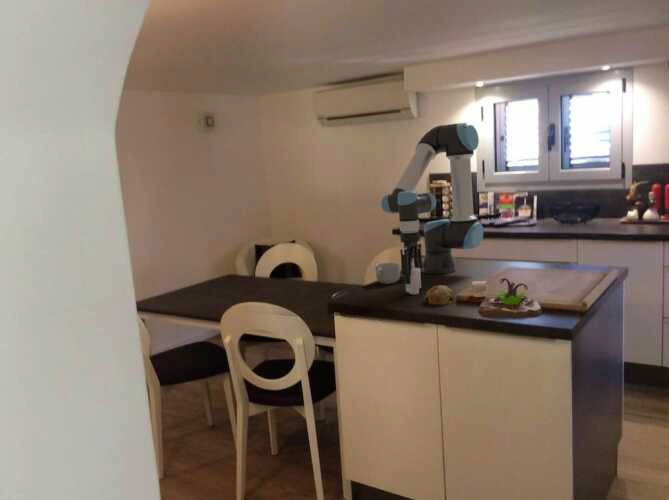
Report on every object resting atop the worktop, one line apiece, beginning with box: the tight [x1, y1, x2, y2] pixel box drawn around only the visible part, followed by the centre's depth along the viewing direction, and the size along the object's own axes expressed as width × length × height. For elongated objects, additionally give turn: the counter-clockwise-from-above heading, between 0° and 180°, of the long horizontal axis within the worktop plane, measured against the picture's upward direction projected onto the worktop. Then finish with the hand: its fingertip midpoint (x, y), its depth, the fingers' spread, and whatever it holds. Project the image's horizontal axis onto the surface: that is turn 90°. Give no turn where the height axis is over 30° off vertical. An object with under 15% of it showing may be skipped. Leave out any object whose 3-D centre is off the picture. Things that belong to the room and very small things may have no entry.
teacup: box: [374, 262, 401, 285], centre depth 258 cm, size 14×11×8 cm
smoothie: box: [408, 258, 422, 295], centre depth 235 cm, size 6×6×14 cm
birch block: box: [470, 280, 488, 292], centre depth 223 cm, size 5×5×5 cm
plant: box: [479, 278, 542, 319], centre depth 200 cm, size 20×20×11 cm
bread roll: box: [424, 284, 455, 306], centre depth 219 cm, size 10×10×8 cm
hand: (413, 289), depth 236 cm, fingers closed on smoothie, 6 cm apart
